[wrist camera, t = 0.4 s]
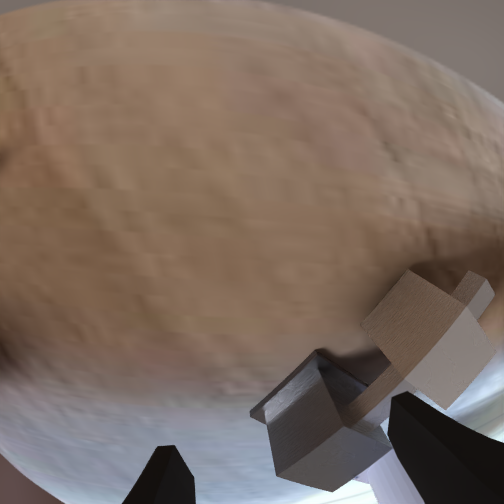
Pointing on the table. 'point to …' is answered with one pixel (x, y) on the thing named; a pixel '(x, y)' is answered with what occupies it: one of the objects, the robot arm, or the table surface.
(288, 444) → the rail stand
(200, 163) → the table surface
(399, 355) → the bracket
